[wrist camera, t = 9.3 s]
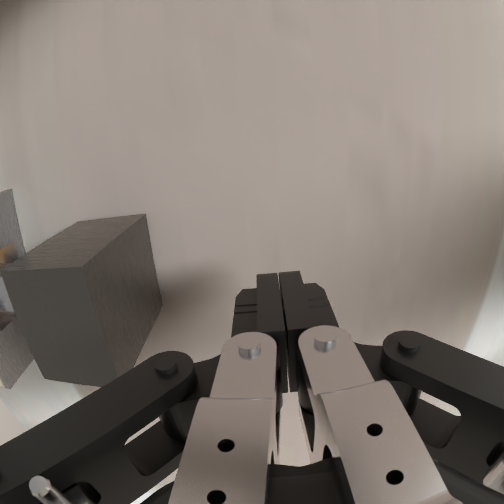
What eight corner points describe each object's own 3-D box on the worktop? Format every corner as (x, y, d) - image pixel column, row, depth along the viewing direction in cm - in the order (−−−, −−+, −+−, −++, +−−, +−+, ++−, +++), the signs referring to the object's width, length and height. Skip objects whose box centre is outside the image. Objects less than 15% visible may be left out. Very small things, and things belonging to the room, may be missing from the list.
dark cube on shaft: (145, 213, 15) (66, 280, 8) (162, 305, 16) (115, 407, 9) (-8, 234, 15) (-89, 282, 8) (13, 304, 17) (-52, 367, 10)
